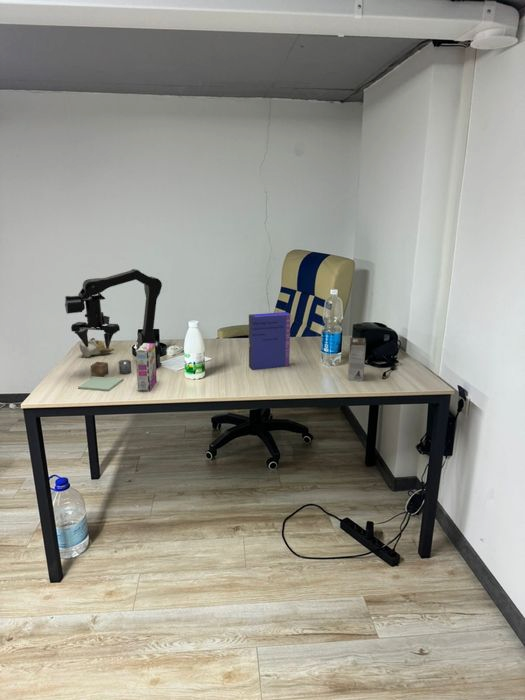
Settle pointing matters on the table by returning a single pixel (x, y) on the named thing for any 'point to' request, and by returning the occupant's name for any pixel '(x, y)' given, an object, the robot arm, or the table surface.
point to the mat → (101, 383)
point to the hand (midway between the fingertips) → (97, 347)
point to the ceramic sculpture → (94, 348)
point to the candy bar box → (146, 366)
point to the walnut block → (99, 369)
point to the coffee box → (356, 359)
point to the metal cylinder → (125, 367)
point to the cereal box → (269, 340)
